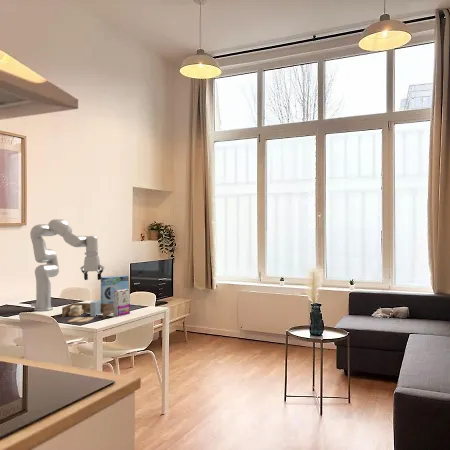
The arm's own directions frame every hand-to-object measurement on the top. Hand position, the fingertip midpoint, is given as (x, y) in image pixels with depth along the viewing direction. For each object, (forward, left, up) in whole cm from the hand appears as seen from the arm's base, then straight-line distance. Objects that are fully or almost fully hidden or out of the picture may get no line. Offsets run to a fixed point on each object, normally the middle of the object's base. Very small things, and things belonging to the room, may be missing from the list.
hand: (92, 279), depth 311 cm
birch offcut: (-10, -3, -20) cm, 23 cm away
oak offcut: (-10, -3, -24) cm, 26 cm away
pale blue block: (+3, -3, -23) cm, 23 cm away
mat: (0, -21, -23) cm, 31 cm away
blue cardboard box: (+8, +23, -23) cm, 34 cm away
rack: (-2, -3, -23) cm, 23 cm away
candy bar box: (+20, -1, -23) cm, 31 cm away
